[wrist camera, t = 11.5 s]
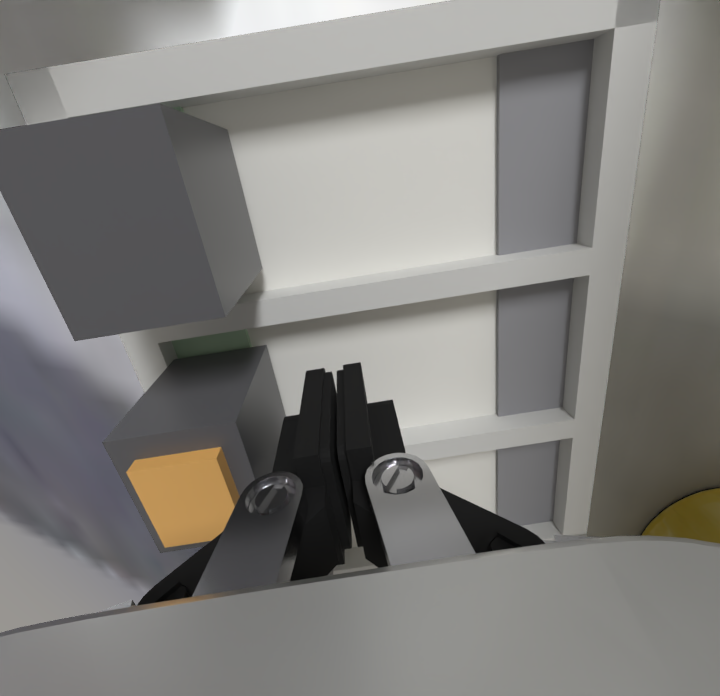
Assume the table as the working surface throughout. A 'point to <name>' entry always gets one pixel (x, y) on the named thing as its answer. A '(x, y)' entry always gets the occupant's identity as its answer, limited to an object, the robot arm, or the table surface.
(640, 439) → the table surface
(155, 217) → the block
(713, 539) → the plant pot
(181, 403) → the block
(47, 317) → the table surface
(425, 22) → the panel
